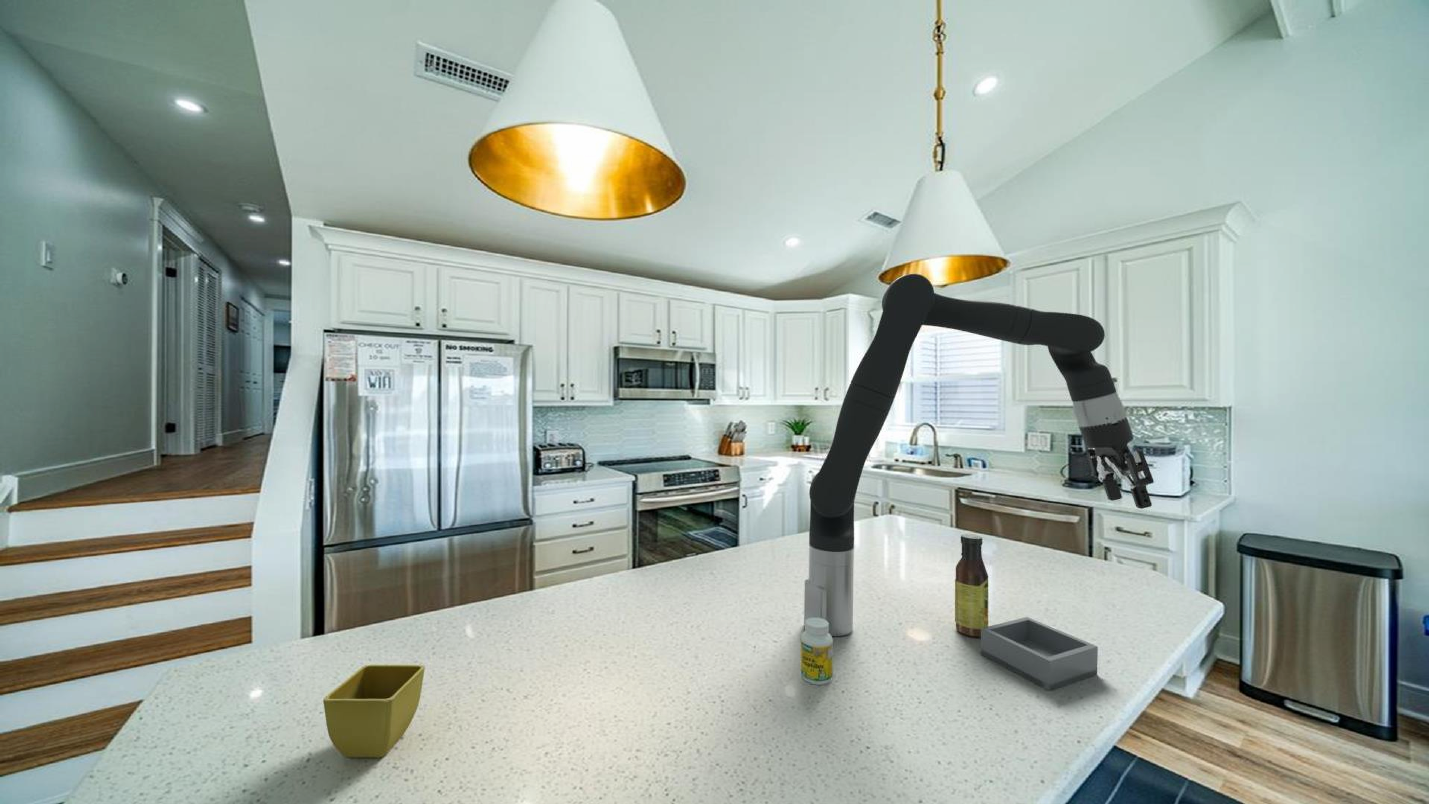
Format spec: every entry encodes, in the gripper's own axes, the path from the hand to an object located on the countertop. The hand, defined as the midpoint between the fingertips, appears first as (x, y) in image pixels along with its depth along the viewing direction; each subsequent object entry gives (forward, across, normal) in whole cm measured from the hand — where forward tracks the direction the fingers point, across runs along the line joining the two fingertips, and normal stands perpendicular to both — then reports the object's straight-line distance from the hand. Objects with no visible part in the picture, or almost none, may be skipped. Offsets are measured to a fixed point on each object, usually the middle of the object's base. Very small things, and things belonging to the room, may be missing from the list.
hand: (1129, 503), depth 95 cm
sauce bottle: (+21, -8, -33) cm, 39 cm away
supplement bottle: (+12, +16, -64) cm, 67 cm away
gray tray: (+23, +4, -25) cm, 35 cm away
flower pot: (-4, +45, -122) cm, 130 cm away
